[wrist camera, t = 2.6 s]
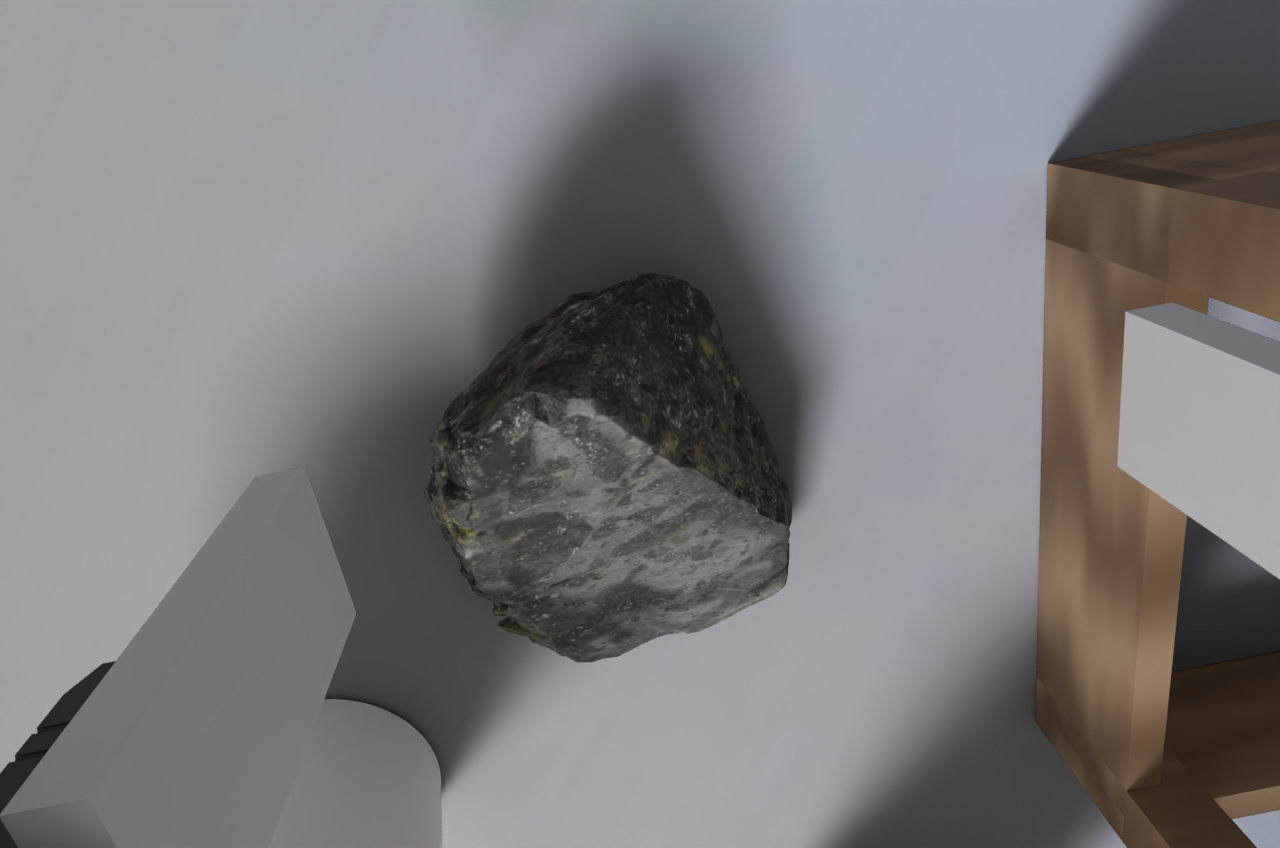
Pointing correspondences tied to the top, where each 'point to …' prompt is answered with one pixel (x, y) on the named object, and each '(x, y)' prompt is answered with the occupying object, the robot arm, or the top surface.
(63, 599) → the top surface
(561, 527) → the rock
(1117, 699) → the crate
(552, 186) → the top surface
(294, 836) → the cup
